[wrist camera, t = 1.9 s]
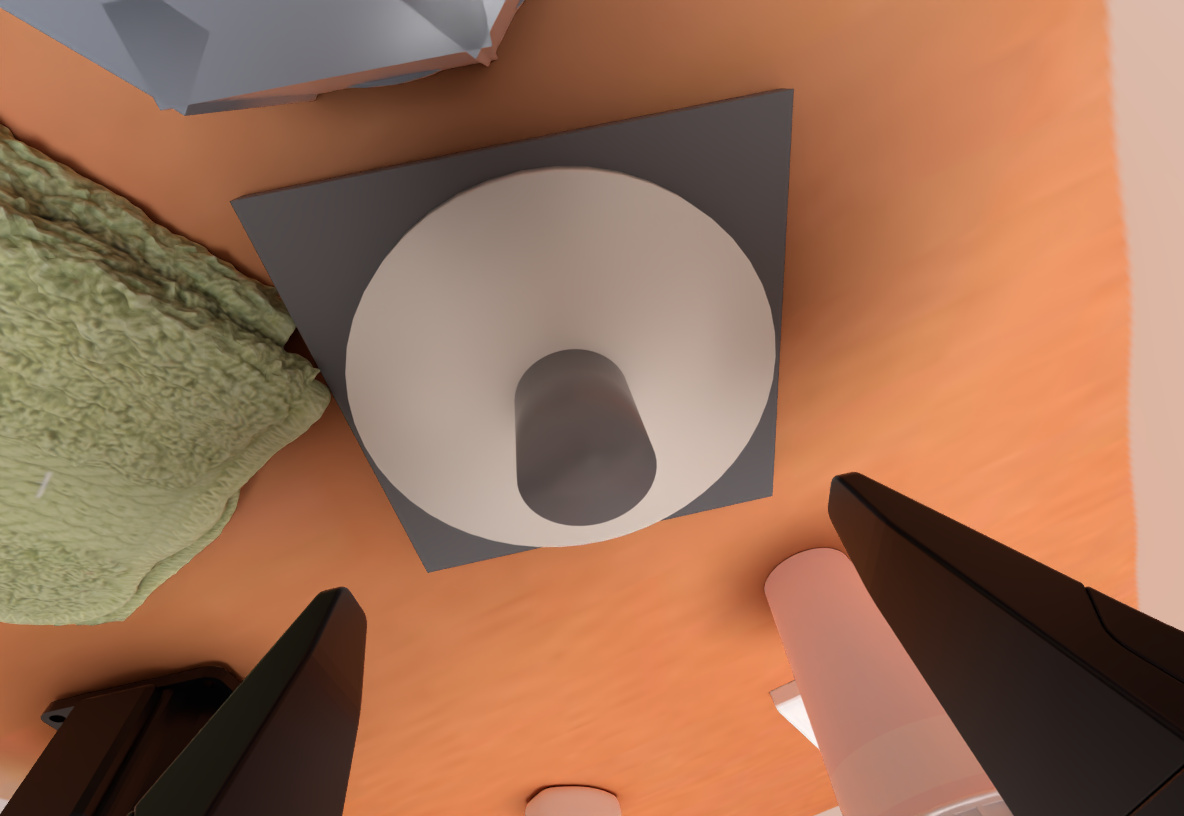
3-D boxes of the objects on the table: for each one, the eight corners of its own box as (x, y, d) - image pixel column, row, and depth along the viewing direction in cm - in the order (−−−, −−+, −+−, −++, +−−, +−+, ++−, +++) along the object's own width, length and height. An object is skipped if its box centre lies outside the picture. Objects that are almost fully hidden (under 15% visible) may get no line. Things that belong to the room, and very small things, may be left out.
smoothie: (792, 640, 24) (1065, 1175, 12) (701, 597, 21) (943, 1238, 9) (908, 560, 22) (1373, 1116, 10) (824, 499, 19) (1336, 1177, 7)
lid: (758, 486, 17) (816, 578, 14) (438, 559, 17) (423, 670, 14) (768, 119, 11) (874, 136, 8) (266, 223, 11) (167, 283, 8)
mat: (765, 484, 18) (772, 495, 17) (429, 558, 18) (427, 572, 17) (781, 88, 11) (793, 89, 11) (242, 195, 11) (229, 201, 10)
